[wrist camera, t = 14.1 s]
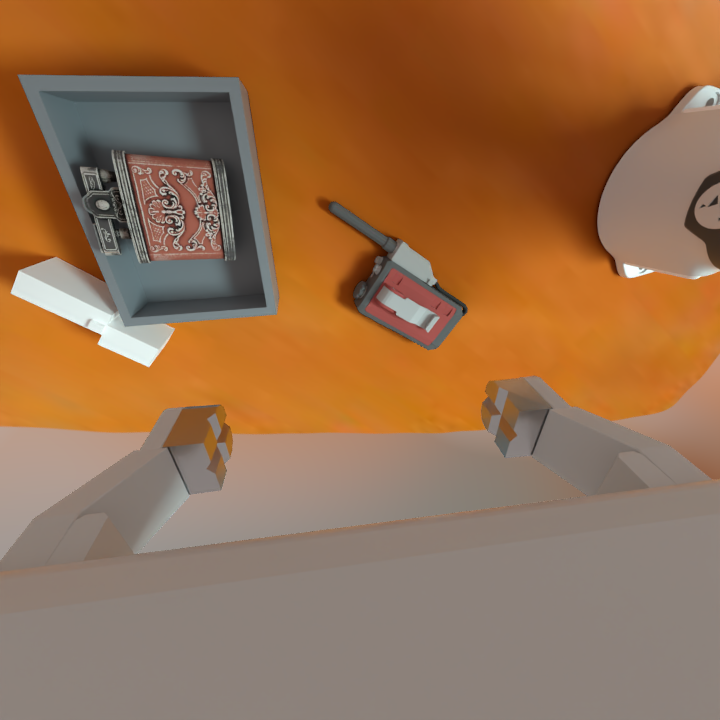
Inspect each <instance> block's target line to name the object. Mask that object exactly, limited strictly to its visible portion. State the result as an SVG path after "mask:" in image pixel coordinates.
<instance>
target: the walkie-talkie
mask: <svg viewBox="0 0 720 720" xmlns="http://www.w3.org/2000/svg"><path fill="white" fill-rule="evenodd" d="M329 210H330V212H332V213H333V214H335V215H336V216H338V217H339V218H341V219H342V220H344V221H345V222H347V223H348V224H350V225H351V226H353V227H354V228H356V229H357V230H359V231H360V232H362V233H363V234H365V235H366V236H368V237H369V238H370V239H372V240H373V241H375V242H376V243H378V244H379V245H381V247H382V248H383V249H384V250H386V251H387V252H389V253H388V255H387V256H383V257H382V256H381V257H380V256H377V257H376V258H375V261H374V262H375V263H376V265H375V266H374V268H373V272H372V274H371V275H370V277H369V278H368V280H367V281H366V282H364V281H361V282H359V283H358V285H357V286H356V288H355V290H354V292H353V297H354V298H355V300H354V302H355V304H356V307H357V309H358V311H359V312H360V313H361V314H363V315H365V316H366V317H369V318H371V319H372V320H374V321H375V322H377V323H379V324H382V325H383V326H385V327H387V328H389V329H392V330H393V331H396V333H399V334H400V335H403V337H406V338H407V339H410V340H411V341H413V342H414V343H417V344H418V345H420V346H421V347H422V346H423V347H424V348H426V349H427V350H431V349H436V348H438V347H439V346H440V344H441V343H442V342H443V341H444V339H445V338H446V337H447V336H448V334H449V333H450V332H451V330H452V329H453V328H454V327H455V325H456V324H457V323H458V322H459V320H460V319H461V317H462V316H464V315H465V314H466V313H467V307H466V305H465V304H464V303H462V302H461V301H459V300H458V299H456V298H455V297H453V296H452V295H450V294H449V293H447V292H446V291H444V290H443V289H442V288H440V286H439V284H438V282H437V281H438V280H437V279H435V278H434V277H433V273H432V269H431V265H430V262H429V261H428V260H426V259H425V258H424V257H422V256H421V255H419V254H418V253H417V252H415V251H414V250H412V249H411V248H410V247H408V244H406V243H405V242H403V241H402V240H400V239H399V238H398V239H397V241H394V240H393V239H391V238H390V237H386V236H385V235H383V234H382V233H380V232H379V231H377V230H376V229H374V228H373V227H372V226H370V225H369V224H367V223H366V222H364V221H363V220H361V219H360V218H358V217H357V216H356V215H354V214H353V213H351V212H350V211H348V210H347V209H345V208H344V207H343V206H341V205H340V204H338V203H337V202H331V203H330V204H329ZM432 285H435V287H436V288H437V289H438V290H437V289H436V288H434V287H432ZM460 305H461V306H462V307H463V310H462V307H461V306H460Z"/></svg>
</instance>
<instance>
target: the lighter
mask: <svg viewBox="0 0 720 720" xmlns="http://www.w3.org/2000/svg"><path fill="white" fill-rule="evenodd" d="M112 160H113V164H114V169H115V172H114V171H109V170H106V169H99V168H97V167H82V166H81V167H80V170H81V174H82V177H83V181H84V184H85V188H86V191H87V195H85V196H84V197H83V198H82V203H83V206H84V208H85V209H86V211H88V212H89V213H91V214H93V215H94V218H95V222H96V223H94V224H93V226H94V230H95V233H96V236H97V240H98V243H99V247H100V250H101V253H105V255H122V251H121V247H120V243H119V239H118V238H122V239H132V241H133V245H134V248H135V252H136V255H137V259H138V261H139V263H151V261H164V260H196V259H224V260H225V261H227V260H235V259H236V255H235V244H234V234H233V225H232V217H231V209H230V201H229V193H228V186H227V179H226V173H225V166H224V162H223V160H222V159H213V158H211V159H210V161H208V160H196V159H184V158H172V157H160V156H148V155H136V154H126V153H125V151H121V150H112ZM111 182H118V186H119V187H112V188H110V190H109V191H105V187H104V184H103V183H111ZM113 218H114V219H117V220H118V221H120V222H128V226H129V228H119V229H116V228H115V225H114V221H113Z"/></svg>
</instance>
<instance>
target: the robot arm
mask: <svg viewBox="0 0 720 720" xmlns="http://www.w3.org/2000/svg"><path fill="white" fill-rule="evenodd" d="M597 226H598V233H599V237H600V240H601V242H602V244H603V246H604V248H605V249H606V250H607V251H608V252H609V253H610V254H611V255H612V256H613V257H614V259H615V261H616V267H617V271H618V273H619V275H620V276H621V277H626V278H633V277H637V276H641V275H644V274H648V273H651V272H655V271H656V272H661V273H665V274H670V275H674V276H679V277H683V278H688V279H698V278H699V277H701V276H707V275H711V274H713V273H716V272H718V271H720V89H719V88H716V87H714V86H710V85H706V86H697V87H695V88H693V89H692V90H690V91H689V92H688V93H687V94H686V95H685V96H684V97H683V99H682V100H681V101H680V102H679V103H678V105H677V106H676V107H675V108H674V109H673V111H672V112H671V113H670V114H669V115H668V116H667V117H666V118H665V119H664V120H663V121H661V122H660V123H659V124H657V125H656V126H654V127H653V128H651V129H650V130H649V131H647V132H646V133H645V134H644V135H643V136H641V137H640V138H639V139H638V140H637V141H636V142H635V143H634V144H633V145H632V146H631V147H630V148H629V150H628V151H627V152H626V153H625V154H624V156H623V157H622V158H621V160H620V161H619V163H618V164H617V166H616V167H615V169H614V170H613V172H612V174H611V176H610V178H609V180H608V182H607V184H606V186H605V189H604V191H603V194H602V197H601V201H600V205H599V210H598V218H597ZM485 392H486V394H487V395H488V397H487V398H486V399H485V401H484V402H483V403H482V408H481V416H482V421H483V424H484V426H485V428H486V429H487V431H488V432H490V433H492V434H493V435H495V436H496V437H495V443H496V445H497V446H498V447H499V449H500V451H501V452H502V454H503V455H504V457H505V458H510V457H521V456H532V457H533V458H534V459H536V460H537V461H538V462H540V463H541V464H543V465H544V466H546V467H547V468H548V469H550V470H551V471H553V472H554V473H556V474H557V475H558V476H560V477H561V478H563V479H564V480H566V481H567V482H568V483H570V484H572V485H573V486H574V487H576V488H577V489H579V490H580V491H581V492H583V493H584V494H586V495H587V496H584V497H577V498H568V499H561V500H553V501H545V502H538V503H529V504H522V505H513V506H506V507H498V508H490V509H483V510H475V511H467V512H459V513H452V514H444V515H436V516H428V517H421V518H413V519H405V520H397V521H389V522H383V523H374V524H366V525H358V526H351V527H343V528H335V529H327V530H320V531H312V532H304V533H296V534H288V535H281V536H274V537H265V538H258V539H249V540H242V541H235V542H226V543H218V544H211V545H204V546H195V547H187V548H180V549H172V550H165V551H156V552H149V553H141V554H138V553H139V551H140V550H141V549H142V548H143V547H144V546H145V545H146V544H147V543H148V541H149V540H150V539H151V538H152V537H153V536H154V535H155V534H156V533H157V532H158V531H159V529H160V528H161V527H162V526H163V525H164V524H165V523H166V522H167V521H168V519H169V518H170V517H171V516H172V515H173V514H174V513H175V512H176V511H177V510H178V508H179V507H180V506H181V505H182V504H183V503H184V502H185V500H187V499H188V497H189V495H190V494H197V493H204V492H211V491H218V490H221V489H222V486H223V482H224V479H225V475H226V472H227V470H226V467H225V463H226V462H227V461H228V460H229V459H230V457H231V453H232V444H233V439H232V432H231V429H230V426H228V425H227V424H225V423H224V421H225V418H226V413H225V410H224V407H223V406H222V405H208V406H194V407H185V408H184V407H181V408H169V409H166V410H164V411H163V412H162V414H161V416H160V417H159V419H158V421H157V422H156V424H155V426H154V427H153V429H152V431H151V432H150V434H149V436H148V437H147V439H146V440H145V442H144V444H143V445H142V447H141V449H140V450H137V451H133V452H131V453H130V454H128V455H127V456H125V457H124V458H122V459H121V460H120V461H118V462H117V463H115V464H114V465H112V466H111V467H109V468H108V469H106V470H105V471H103V472H102V473H100V474H99V475H97V476H96V477H95V478H93V479H92V480H90V481H89V482H87V483H86V484H84V485H83V486H81V487H80V488H78V489H77V490H75V491H74V492H72V493H71V494H69V495H68V496H66V497H65V498H64V499H62V500H61V501H59V502H58V503H56V504H55V505H53V506H52V507H50V508H49V509H47V510H46V511H44V512H43V513H41V514H40V515H38V516H37V517H36V518H34V519H33V520H32V521H31V523H30V524H29V525H28V526H27V528H26V529H25V530H24V532H23V533H22V534H21V536H20V537H19V538H18V539H17V541H16V542H15V543H14V544H13V546H12V547H11V548H10V549H9V551H8V552H7V553H6V555H5V556H4V557H3V558H2V560H1V561H0V720H720V479H716V480H712V479H711V478H709V477H708V476H707V475H706V474H704V473H703V472H702V471H701V470H699V469H698V468H697V467H696V466H694V465H693V464H692V463H691V462H689V461H688V460H687V459H686V458H684V457H683V456H682V455H681V454H679V453H678V452H677V451H675V450H674V449H673V448H672V447H671V446H669V445H667V444H664V443H661V442H659V441H657V440H654V439H652V438H650V437H647V436H645V435H643V434H640V433H638V432H635V431H633V430H630V429H628V428H626V427H623V426H621V425H618V424H616V423H614V422H611V421H609V420H607V419H604V418H602V417H599V416H597V415H595V414H592V413H590V412H587V411H585V410H583V409H580V408H578V407H570V406H569V405H568V404H567V403H566V402H565V401H564V400H563V399H562V398H561V397H560V396H559V395H558V394H557V393H556V392H555V391H553V390H552V389H551V388H550V387H549V386H548V385H547V384H546V383H545V382H544V381H543V380H542V379H541V378H539V377H537V376H529V377H520V378H516V379H505V380H494V381H489V382H488V384H487V386H486V390H485Z"/></svg>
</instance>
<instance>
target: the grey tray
mask: <svg viewBox="0 0 720 720" xmlns="http://www.w3.org/2000/svg"><path fill="white" fill-rule="evenodd" d="M18 77H19V80H20V82H21V84H22V87H23V89H24V91H25V94H26V96H27V98H28V101H29V103H30V105H31V108H32V110H33V112H34V115H35V117H36V119H37V122H38V124H39V126H40V129H41V131H42V133H43V136H44V138H45V141H46V143H47V145H48V148H49V150H50V152H51V155H52V157H53V159H54V162H55V164H56V166H57V169H58V171H59V173H60V176H61V178H62V180H63V183H64V185H65V187H66V190H67V192H68V195H69V197H70V199H71V202H72V204H73V206H74V209H75V211H76V213H77V216H78V218H79V220H80V223H81V225H82V227H83V230H84V232H85V234H86V237H87V239H88V241H89V244H90V246H91V249H92V251H93V253H94V256H95V258H96V260H97V263H98V265H99V267H100V270H101V272H102V274H103V277H104V279H105V281H106V284H107V286H108V288H109V291H110V293H111V295H112V298H113V300H114V303H115V305H116V307H117V310H118V312H119V314H120V317H121V319H122V321H123V324H124V326H125V327H129V326H141V325H153V324H166V323H178V322H190V321H202V320H215V319H227V318H239V317H251V316H264V315H276V314H277V310H278V302H279V292H278V286H277V279H276V273H275V266H274V260H273V253H272V247H271V240H270V234H269V227H268V221H267V214H266V208H265V201H264V195H263V188H262V182H261V175H260V169H259V162H258V156H257V149H256V143H255V136H254V130H253V123H252V117H251V110H250V104H249V97H248V92H247V90H246V89H245V87H244V85H243V84H242V82H241V81H240V79H239V78H238V77H162V76H79V75H18ZM112 150H121V151H125V153H126V154H136V155H148V156H160V157H172V158H184V159H196V160H208V161H210V159H211V158H213V159H222V160H223V162H224V166H225V173H226V179H227V186H228V193H229V201H230V209H231V217H232V225H233V234H234V244H235V255H236V259H235V260H227V261H225V260H224V259H196V260H164V261H151V263H139V261H138V259H137V255H136V252H135V248H134V245H133V241H132V239H122V238H118V239H119V243H120V247H121V251H122V255H105V253H101V250H100V247H99V243H98V240H97V236H96V233H95V230H94V226H93V224H94V223H96V222H95V218H94V215H93V214H91V213H89V212H88V211H86V209H85V208H84V206H83V203H82V198H83V197H84V196H85V195H87V191H86V188H85V184H84V181H83V177H82V174H81V170H80V167H81V166H82V167H97V168H99V169H106V170H109V171H114V172H115V169H114V164H113V160H112ZM103 184H104V187H105V191H109V190H110V188H112V187H119V186H118V182H111V183H103ZM113 221H114V225H115V228H116V229H119V228H129V226H128V222H120V221H118V220H117V219H114V218H113Z"/></svg>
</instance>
